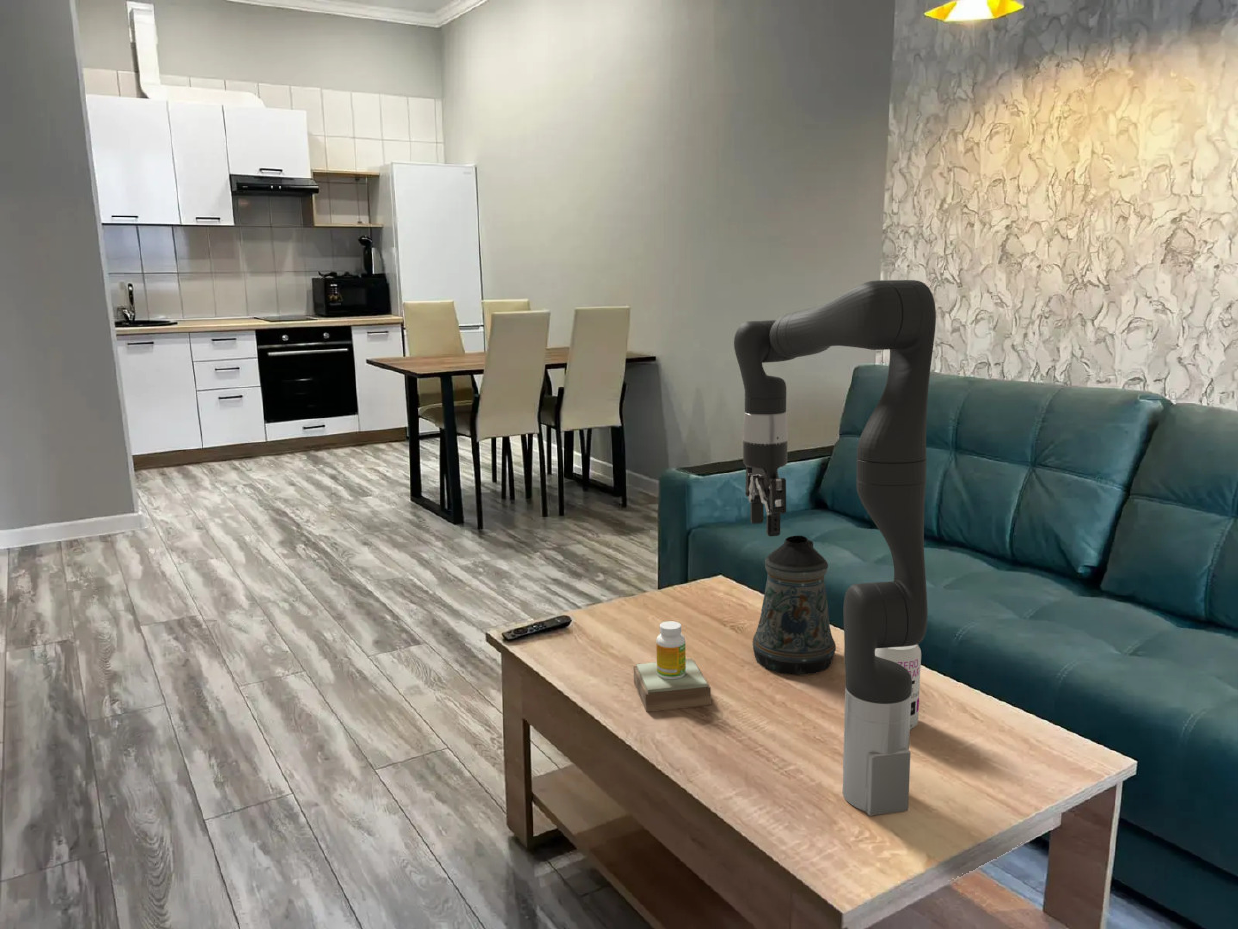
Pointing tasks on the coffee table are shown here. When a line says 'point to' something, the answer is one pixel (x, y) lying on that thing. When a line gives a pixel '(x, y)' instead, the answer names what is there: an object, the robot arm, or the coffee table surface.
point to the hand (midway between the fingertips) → (764, 529)
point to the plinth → (671, 688)
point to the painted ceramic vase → (795, 612)
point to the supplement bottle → (671, 651)
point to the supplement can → (912, 662)
